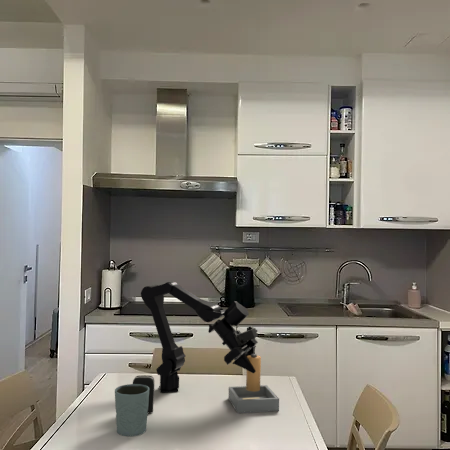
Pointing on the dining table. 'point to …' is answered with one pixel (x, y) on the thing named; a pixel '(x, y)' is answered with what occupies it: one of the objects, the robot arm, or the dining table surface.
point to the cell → (254, 378)
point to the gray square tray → (253, 399)
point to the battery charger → (150, 383)
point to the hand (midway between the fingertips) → (257, 370)
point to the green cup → (131, 409)
